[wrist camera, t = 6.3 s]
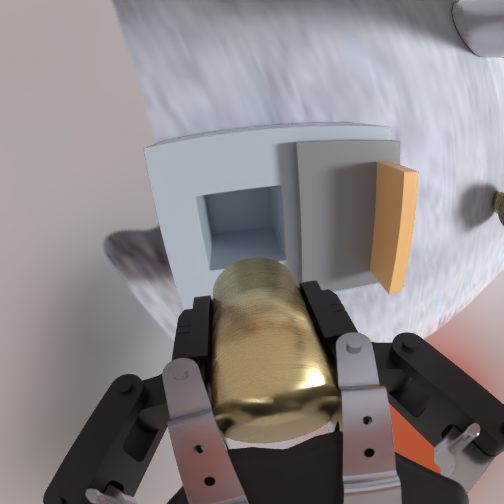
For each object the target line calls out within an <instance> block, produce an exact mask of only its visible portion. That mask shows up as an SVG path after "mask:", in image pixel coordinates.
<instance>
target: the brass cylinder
mask: <svg viewBox="0 0 504 504" xmlns="http://www.w3.org/2000/svg"><path fill="white" fill-rule="evenodd" d="M337 392H338V387H337V382H336V378H335V376H334V373H333V371H332V368H331V366H330V363H329V360H328V358H327V355H326V353H325V350H324V348H323V345H322V343H321V340H320V338H319V335H318V333H317V330H316V328H315V325H314V323H313V320H312V318H311V316H310V313H309V311H308V308H307V306H306V303H305V301H304V299H303V296H302V294H301V291H300V289H299V287H298V284H297V282H296V280H295V277H294V275H293V274H292V272H291V271H290V270H289V269H288V268H287V267H286V266H285V265H283V264H281V263H280V262H278V261H275V260H272V259H269V258H261V257H255V258H248V259H243V260H240V261H238V262H235V263H233V264H232V265H230V266H228V267H227V268H226V269H225V270H224V271H223V272H222V273H221V274H220V275H219V276H218V278H217V279H216V281H215V284H214V286H213V291H212V326H211V405H212V408H213V411H214V414H215V416H216V418H217V421H218V423H219V425H220V427H221V430H222V432H223V434H224V435H225V437H227V438H230V439H232V440H236V441H241V442H247V443H272V442H281V441H286V440H290V439H294V438H297V437H301V436H303V435H306V434H308V433H311V432H313V431H315V430H317V429H319V428H321V427H322V426H324V425H325V424H326V423H328V422H329V421H330V419H331V418H332V416H333V413H334V409H335V405H336V396H337Z"/></svg>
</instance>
